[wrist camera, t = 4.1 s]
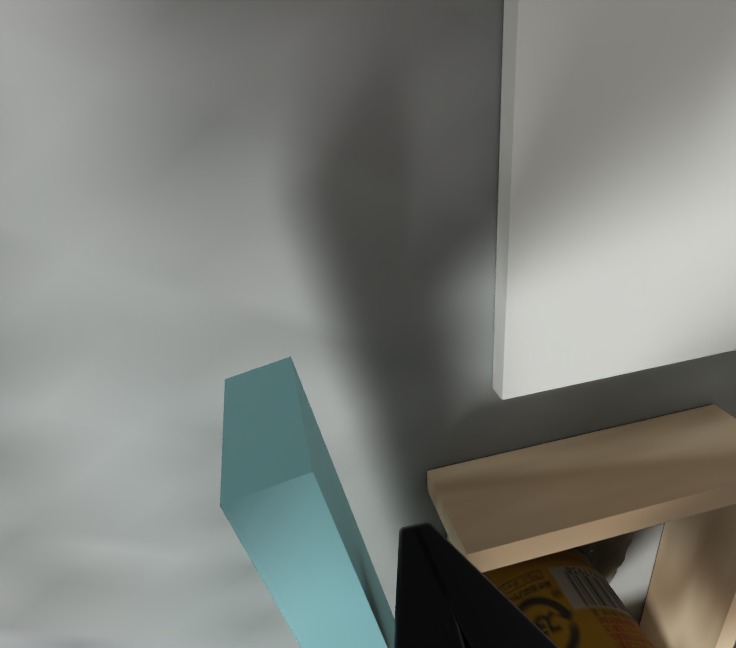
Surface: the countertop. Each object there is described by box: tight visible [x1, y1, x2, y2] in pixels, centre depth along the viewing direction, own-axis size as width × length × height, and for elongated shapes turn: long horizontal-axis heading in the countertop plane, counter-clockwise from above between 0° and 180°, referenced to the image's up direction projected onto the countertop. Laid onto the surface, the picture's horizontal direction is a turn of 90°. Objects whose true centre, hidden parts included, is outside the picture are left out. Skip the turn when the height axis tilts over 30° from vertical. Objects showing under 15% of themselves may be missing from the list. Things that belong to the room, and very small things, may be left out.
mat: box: [493, 0, 736, 400], centre depth 12 cm, size 11×11×1 cm
